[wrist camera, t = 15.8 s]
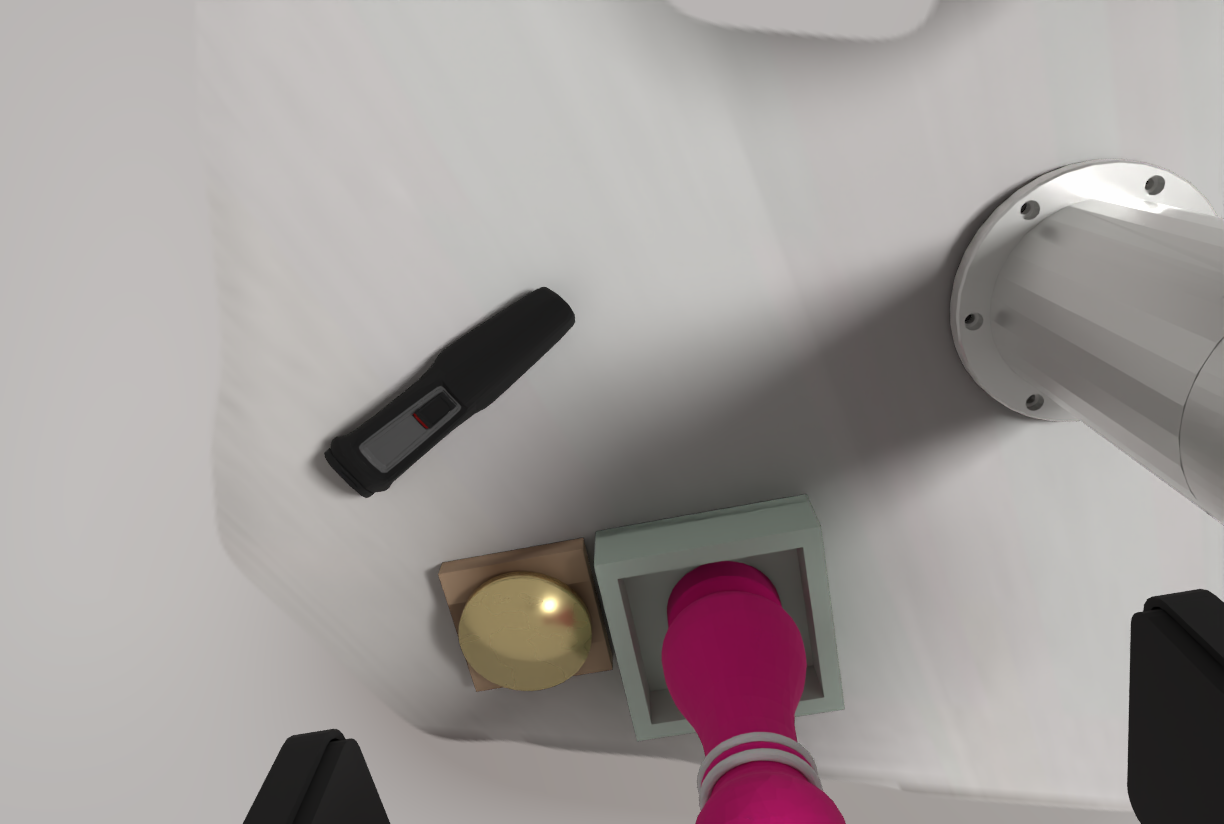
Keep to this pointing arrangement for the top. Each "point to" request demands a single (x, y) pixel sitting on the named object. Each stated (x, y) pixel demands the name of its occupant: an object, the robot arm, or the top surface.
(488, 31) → the top surface
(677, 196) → the top surface
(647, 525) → the trough tray
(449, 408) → the electric trimmer
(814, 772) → the pepper mill
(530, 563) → the checker plinth
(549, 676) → the gold disc
